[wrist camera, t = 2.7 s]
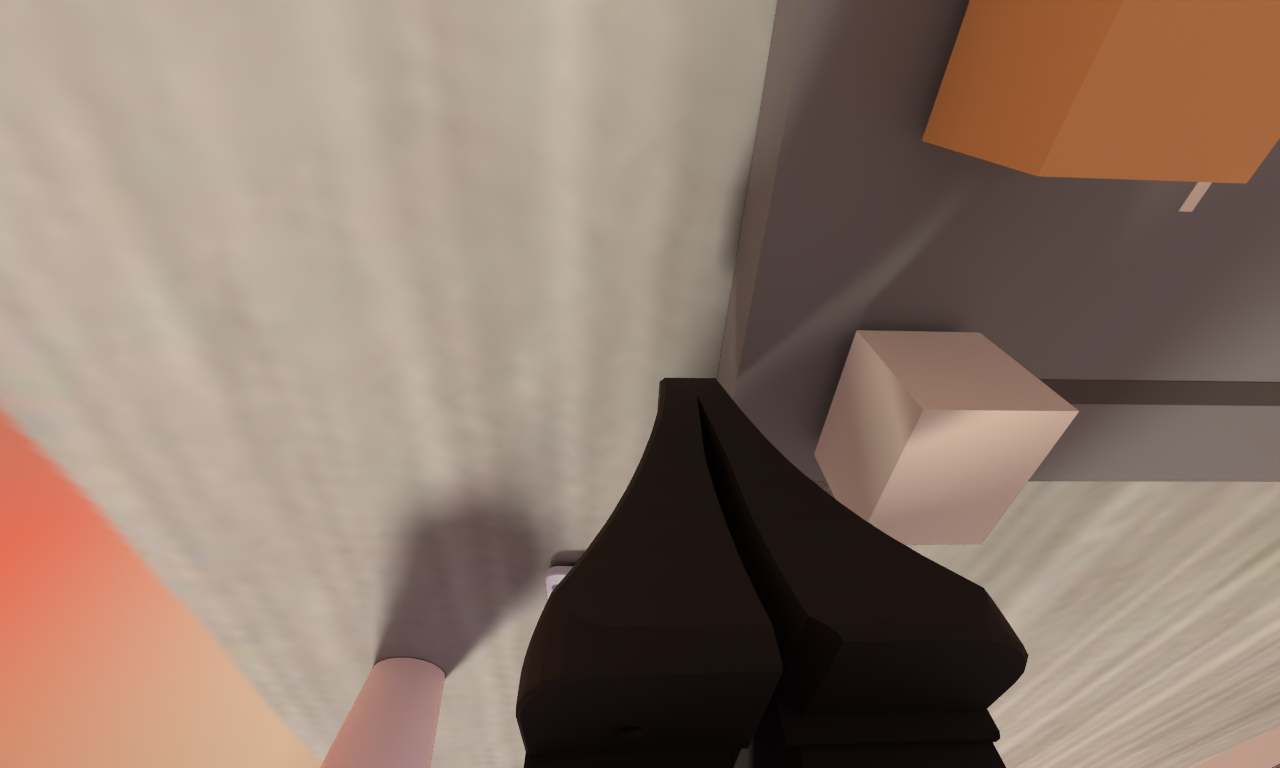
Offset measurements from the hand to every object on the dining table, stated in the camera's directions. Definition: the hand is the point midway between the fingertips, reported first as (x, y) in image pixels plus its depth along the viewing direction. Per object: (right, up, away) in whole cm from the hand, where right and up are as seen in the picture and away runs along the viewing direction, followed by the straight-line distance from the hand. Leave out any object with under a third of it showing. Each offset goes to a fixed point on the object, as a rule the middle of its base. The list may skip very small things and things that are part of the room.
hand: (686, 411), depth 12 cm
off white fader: (+5, 0, +1) cm, 5 cm away
